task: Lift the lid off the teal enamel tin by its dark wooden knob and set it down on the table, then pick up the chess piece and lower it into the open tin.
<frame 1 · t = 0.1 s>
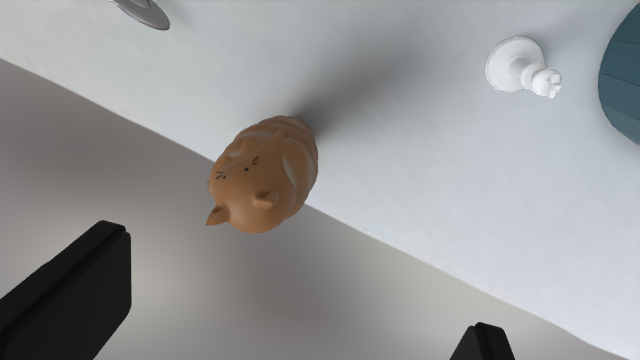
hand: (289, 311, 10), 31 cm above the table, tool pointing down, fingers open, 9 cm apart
chess piece: (512, 64, 36), on the table
cat ice cream: (293, 131, 42), on the table
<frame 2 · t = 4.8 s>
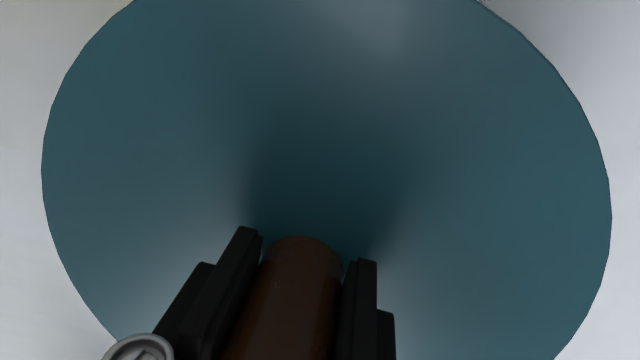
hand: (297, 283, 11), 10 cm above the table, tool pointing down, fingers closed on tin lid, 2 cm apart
tin lid: (305, 257, 12), point 9 cm above the table, touching gripper, tin
when the fingers open (2 cm above the table, at t = 13.0 s): tin lid stays where it is, point 1 cm above the table.
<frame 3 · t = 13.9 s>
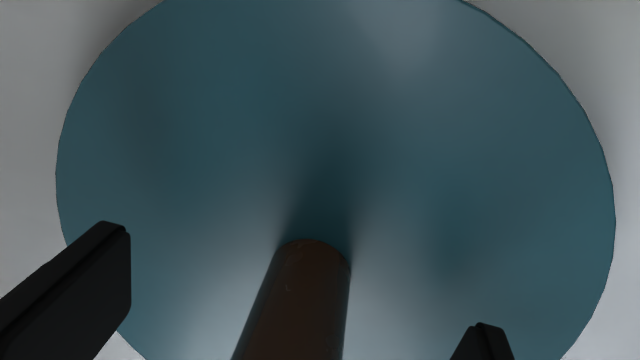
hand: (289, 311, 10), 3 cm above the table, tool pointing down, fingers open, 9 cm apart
tin lid: (313, 260, 13), point 1 cm above the table
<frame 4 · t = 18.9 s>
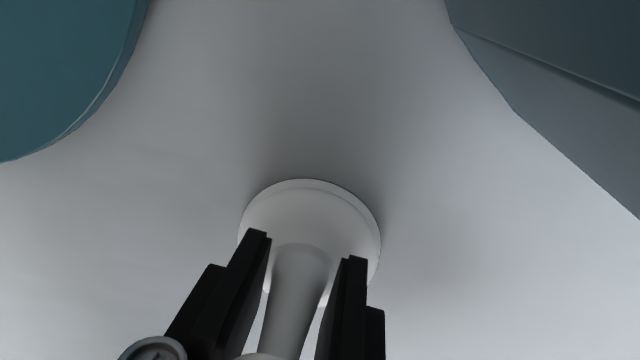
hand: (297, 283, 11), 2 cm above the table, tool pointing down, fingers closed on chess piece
chess piece: (310, 238, 13), on the table, touching gripper
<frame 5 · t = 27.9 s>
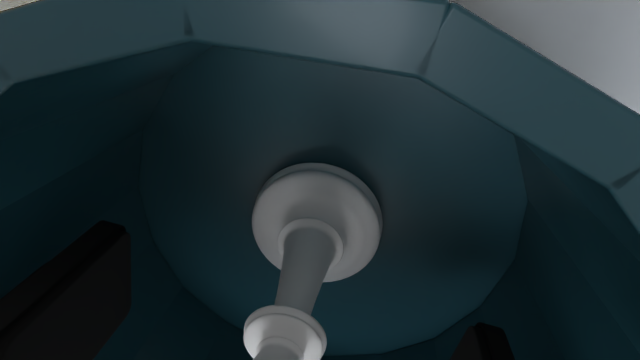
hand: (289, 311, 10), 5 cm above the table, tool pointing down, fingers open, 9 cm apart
chess piece: (318, 218, 15), resting on tin
tin: (321, 214, 15), on the table
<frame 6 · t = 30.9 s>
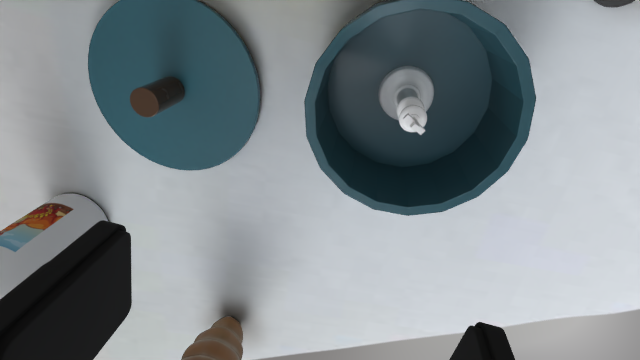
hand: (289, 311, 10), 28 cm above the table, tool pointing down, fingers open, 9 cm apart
chess piece: (405, 93, 35), resting on tin
tin lid: (175, 88, 37), point 1 cm above the table
milk bottle: (83, 217, 47), on the table
tin: (406, 92, 35), on the table
cat ice cream: (231, 320, 52), on the table
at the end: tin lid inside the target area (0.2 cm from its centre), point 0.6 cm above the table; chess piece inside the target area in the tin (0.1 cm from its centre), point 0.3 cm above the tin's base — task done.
